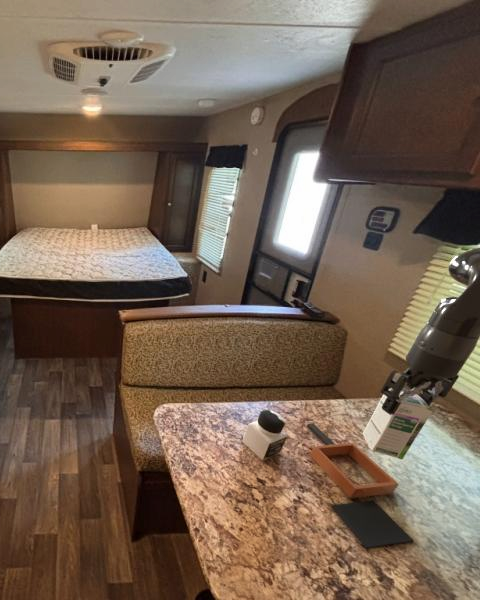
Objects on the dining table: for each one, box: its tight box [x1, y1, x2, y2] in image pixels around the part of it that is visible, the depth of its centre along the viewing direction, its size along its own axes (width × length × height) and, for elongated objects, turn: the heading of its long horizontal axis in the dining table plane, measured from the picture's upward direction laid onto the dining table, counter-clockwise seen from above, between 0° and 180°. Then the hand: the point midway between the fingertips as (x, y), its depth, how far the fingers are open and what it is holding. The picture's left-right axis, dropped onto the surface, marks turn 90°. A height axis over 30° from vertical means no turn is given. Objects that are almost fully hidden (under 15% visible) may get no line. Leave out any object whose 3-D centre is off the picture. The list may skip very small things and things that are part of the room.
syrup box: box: [362, 388, 433, 460], centre depth 72 cm, size 6×6×14 cm
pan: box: [306, 422, 399, 499], centre depth 87 cm, size 13×21×4 cm, turn 8°
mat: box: [330, 499, 414, 549], centre depth 72 cm, size 12×9×1 cm
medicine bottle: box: [242, 409, 288, 462], centre depth 88 cm, size 7×7×12 cm
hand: (402, 410), depth 70 cm, fingers closed on syrup box, 7 cm apart
